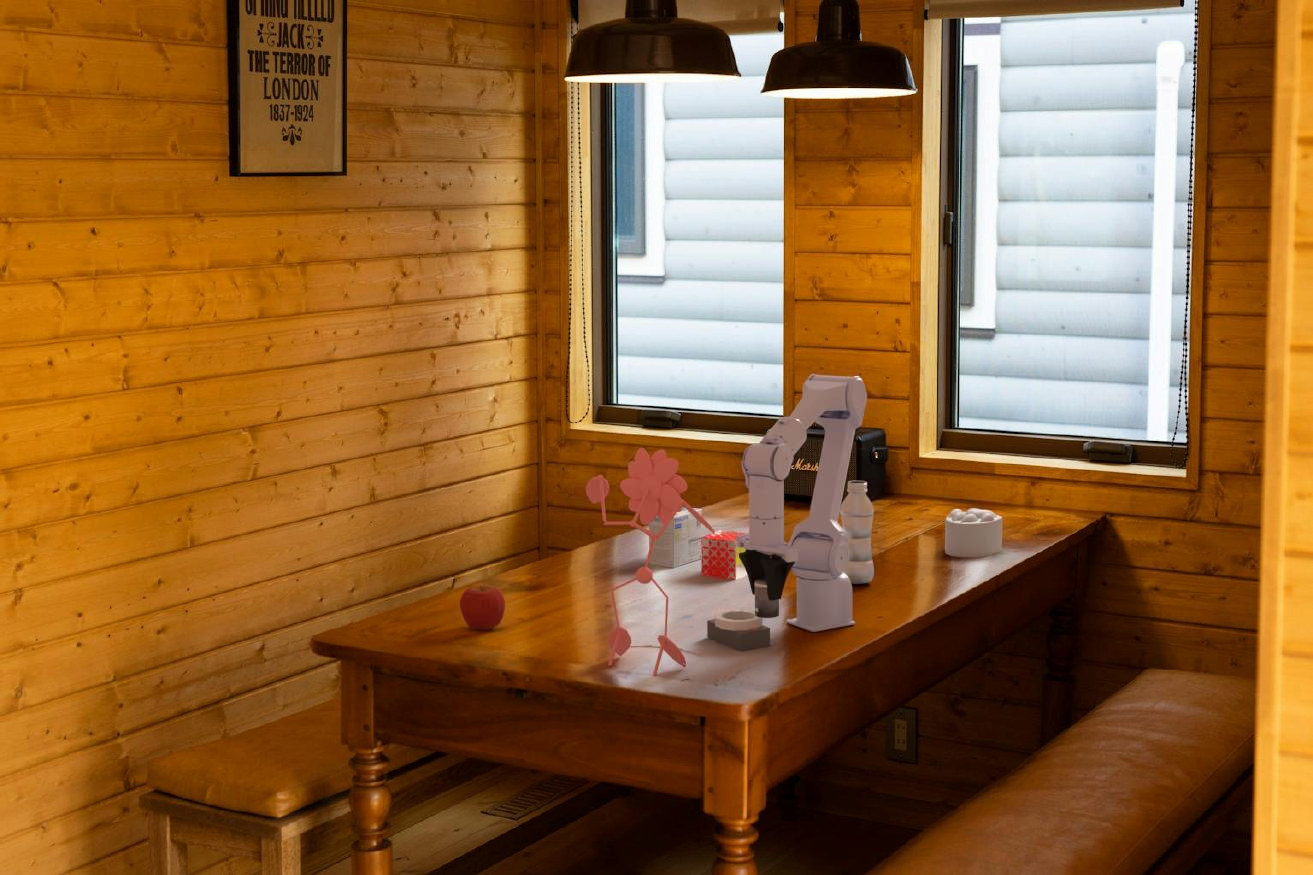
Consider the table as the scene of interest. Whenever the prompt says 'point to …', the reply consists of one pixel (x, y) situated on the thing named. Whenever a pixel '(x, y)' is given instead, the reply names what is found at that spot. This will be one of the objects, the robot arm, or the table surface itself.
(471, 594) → the apple
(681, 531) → the light bulb box
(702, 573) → the red patterned gift box
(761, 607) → the lens
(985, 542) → the lumpy-topped squat cylinder
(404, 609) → the table surface
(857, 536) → the plastic bottle
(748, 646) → the camera body
